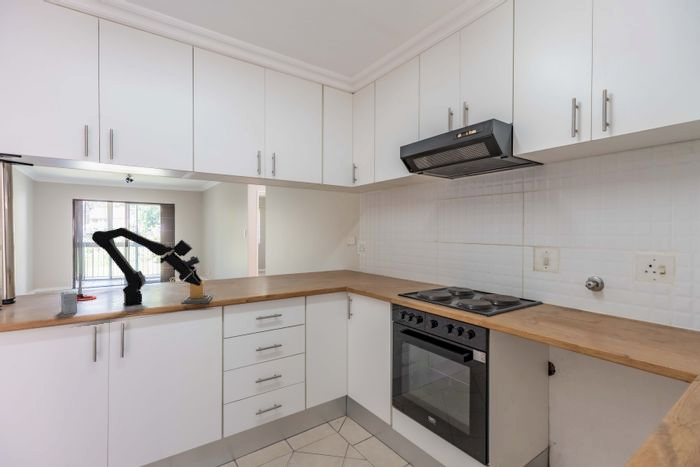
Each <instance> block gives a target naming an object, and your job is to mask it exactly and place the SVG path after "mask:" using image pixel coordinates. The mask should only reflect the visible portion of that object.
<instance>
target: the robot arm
mask: <svg viewBox="0 0 700 467" xmlns="http://www.w3.org/2000/svg"><path fill="white" fill-rule="evenodd" d="M121 237H123V238H125V239H126V240H129V241H131V242H134V243H135V244H138V245H140V246H143V247H144V248H146V249H147V250H148V251H149V252H151V253H153V254H154V255H156V256H159V257H160V258H159V259H160V262H159V263H160V264H163V263H167V265H169V266H170V267H171V268H172V270H174V271H175V272H177V273H178V274H179V276H178V279H179V280H180V281H181V282H184V283H186V284H187V283H188V284H190V283H191V284H194V285H197V286H200V283H199V282H200V281H203V280H202V279H201V277H200V276H199V274H198V273H197V267H196V266H195V265H198V264H200V260H199V258H198V256H194V255H193V256H190V259H189V260H185V259H182V258H181V257H185V256H186V255H187V254H188V253H189V252H190V251H192V250H193V247H192V246H191V245H190V244H189V243H188V242H186V241H185V240H183V239H181V240H179V241H178V243H176V244H175V245H174V246H170V245H169V246H168V245H167V244H165V243H163V242H158V241H155V240H152V239H149V238H147V237H145V236H143V235H141V234H138V233H136V232H134V231H132V230H129V229H127V227H118V228H115V229H110V230H98V231H94V232H93V234H92V236H91V240H92V242H94V243H96V245H97V246H98V247H100V248H101V249H103V250H104V251H105V252H106V253H107V254H108V255H109V257H110V258H111V259H112V261H113V262H114V263H115V265H116V266H117V267H118V269H120V271H121V272H122V274H124V277H125V281H126V283H127V285H125V287H124V288H123V289H122V293H123V304H122V305H124V307H130V306H138V305H142V303H143V293H141V292H142V291H141V289H142V287H143V286H145V284H146V281H147V279H146V275H144V274H143V272H142V270H139V271H137V270H135V269H134V268H133V266H132V265H131V264H130V263H129V261H128V260H127V258H125V256H124V255H123V253H122V252H121V251H120V250H119V248H118V247H117V245H116V243H115V240H114V239H117V238H121ZM170 252H171V253H170ZM162 256H163V257H162Z"/></svg>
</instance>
